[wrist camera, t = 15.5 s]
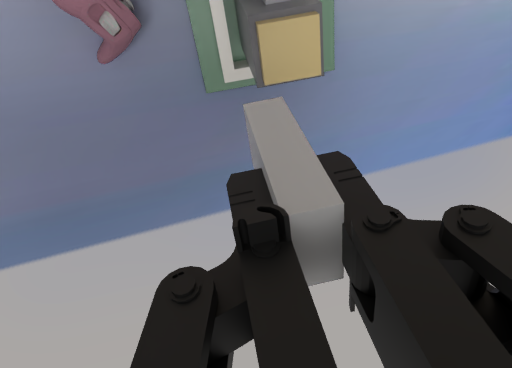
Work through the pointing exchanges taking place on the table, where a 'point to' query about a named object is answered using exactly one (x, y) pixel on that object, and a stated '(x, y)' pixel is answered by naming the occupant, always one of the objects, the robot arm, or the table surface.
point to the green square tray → (236, 43)
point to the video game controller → (106, 23)
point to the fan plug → (281, 39)
